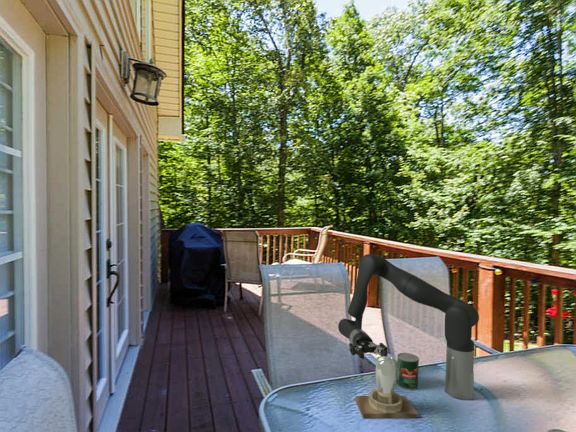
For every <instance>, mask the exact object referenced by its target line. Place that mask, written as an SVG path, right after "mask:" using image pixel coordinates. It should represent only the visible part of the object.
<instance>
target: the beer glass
mask: <svg viewBox="0 0 576 432" xmlns="http://www.w3.org/2000/svg"><path fill="white" fill-rule="evenodd" d="M374 370H375V372H374V373H375V374H374V375H375V381H376V389H377V398H376V401H378V402H380V403H383V404H394V398H393V394H394V392H395V387H396V384H397V383H396V382H397V359H395V358H393V357H391V356H388V355H387V356H381V355H380V356H378V357H376V362H375V369H374Z"/></svg>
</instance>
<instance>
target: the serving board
mask: <svg viewBox="0 0 576 432" xmlns="http://www.w3.org/2000/svg"><path fill="white" fill-rule="evenodd" d="M376 398H377V388H375V389H373V390H371V391H370V392H369V394H368V395H355V396H354V401H355V403H356V406H357V407H358V409H359V412H360V414H361V417H362V419H418V418H419V413H418V411H417V410H416V409H415V407H414V406H413V404H412V403H411V402H410V400H409V398H407V396H406V395H400V394H399V393H396V391H394V394H393V398H394V404H383V403H380V402H378V401H376Z"/></svg>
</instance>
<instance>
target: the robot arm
mask: <svg viewBox="0 0 576 432" xmlns="http://www.w3.org/2000/svg"><path fill="white" fill-rule="evenodd" d="M358 265H359V266H358V270H357V271H358V272H357V276H356V281H355V287H354V292H353V295H352V298H351V300H350V303H349V306H348V310H347V314H348V315H349V316H351V317H352V318H354V319H355V320H352V319H348V318H342V319H340V321H339V322H338V325H337V328H338V332H339V333H340V334H341V335H342V336H343V337H345V338H347V339H348V340H349V341H350V343H348V350H349V352H350V354H351V355H352V356H355V355H356V356H358V357H359V358H360V359H361V360H364V359H365V354H368V353H369V354H373V355H380V356H387V357H388V354H389V353H388V352H389V351H388V350H389V348H388V346H387V345H385V344H384V343H383V342H379V344H376V343H375V342H374V341H373V339H372V338H371V337H370V336H369V335H368V333H367V332H366V331H364V330H363V328H362V327H363V319H364V318H363V316H364V313H365V310H366V308H367V305H368V300H369V299H368V298H369V297H368V296H369V293H368V291H369V283H370V280H371V278H372V277H373V276H377V277H381V278H382V279H384V280H386V281H388V282H390V283H391V284H392V285H393V286H394V288H395V289H396V290H397V291H398V292H399V293H401V294H402V295H404V296H405V297H407V298H408V299H410V300H412V301H414V302H416V303H417V304H421V305H424V306H427V307H430V308H433V309H436V310H439V311H441V312H442V313H444V337H445V340H446V351H445V352H446V353H445V355H446V356H445V381H444V391H445V393H446V394H447V395H449V396H450V397H453V398H454V399H457V400H458V399H459V400H474V381H475V380H474V378H475V376H474V375H475V372H474V363H475V341H474V340H473V339H472V337H471V336H472V333H471V332H472V328H473V327H475V326H476V325H477V324H478V322H479V320H480V315H479V312H478V310H477V309H476V308H475V307H474V306H473V305H471V304H470V303H468V302H466V301H464V300H462V299H459V298H457V297H455V296H452V295H449V294H448V293H445V292H444V291H442V290H441V289H439V288H437V287H435V286H434V285H432V284H430V283H428V282H427V281H425V280H423V279H422V278H419V277H418V276H416V275H414V274H412V273H410V272H408V271H406V270H404V269H401V268H399V267H397V266H395V264H394V263H391V262H390V261H389V260H388V259H386V258H385V257H383V256H381V255H379V254H375V253H374V254H372V253H369V254H368V253H367V254H364V255H363V256H362V257H361V258H360V260H359V264H358Z"/></svg>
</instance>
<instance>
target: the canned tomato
mask: <svg viewBox="0 0 576 432" xmlns="http://www.w3.org/2000/svg"><path fill="white" fill-rule="evenodd" d="M419 360H420V358H419V356H418V355H416V354H413V353H409V352H400V353H398V354H397V359H396V365H397V378H396V383H395V384H396V386H398V387H399V388H401V389H403V390H405V391H414V390H417V389H418V388H419V366H420V364H419V363H420V361H419Z"/></svg>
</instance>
